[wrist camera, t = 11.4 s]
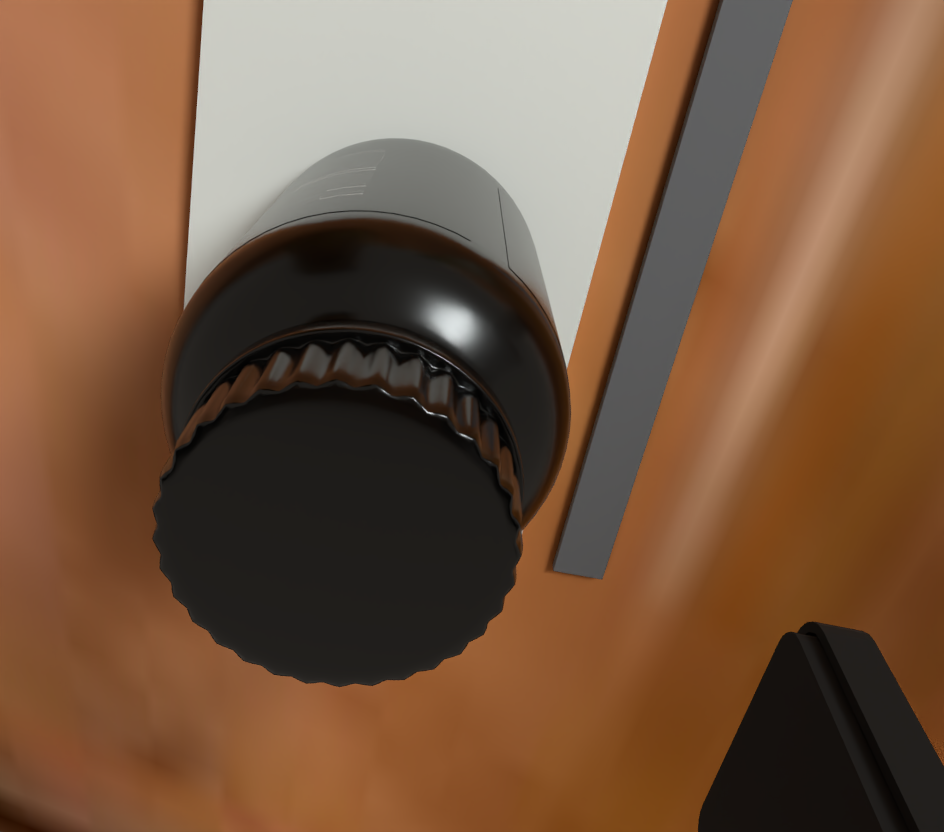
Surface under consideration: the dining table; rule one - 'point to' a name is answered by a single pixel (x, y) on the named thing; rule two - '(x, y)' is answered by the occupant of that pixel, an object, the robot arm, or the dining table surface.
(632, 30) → the white tile with strip
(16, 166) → the dining table surface
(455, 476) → the supplement bottle
